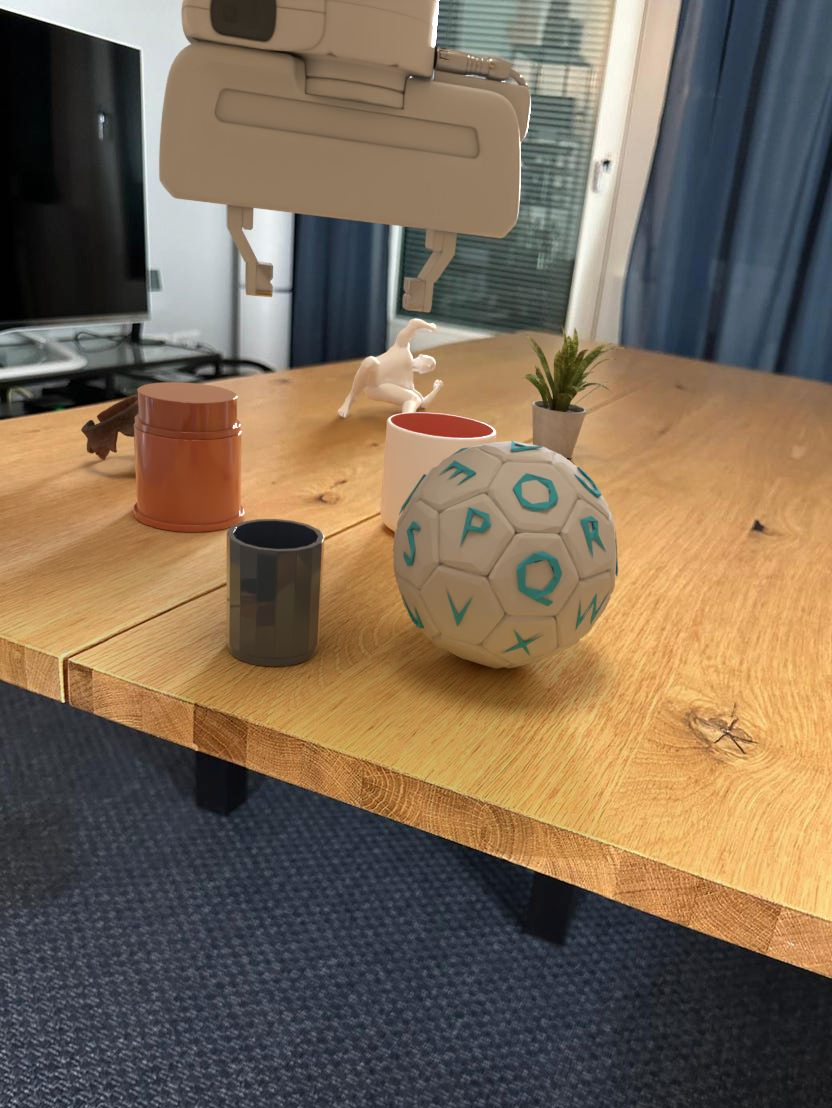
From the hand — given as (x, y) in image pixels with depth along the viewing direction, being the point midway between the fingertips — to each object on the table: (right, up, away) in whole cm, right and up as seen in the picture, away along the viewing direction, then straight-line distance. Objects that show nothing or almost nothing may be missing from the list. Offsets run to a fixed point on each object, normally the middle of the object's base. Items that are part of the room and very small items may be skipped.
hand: (339, 303), depth 55 cm
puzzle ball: (+9, -21, +10) cm, 25 cm away
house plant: (+19, +4, +66) cm, 69 cm away
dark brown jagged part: (-26, -2, +41) cm, 49 cm away
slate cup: (-5, -21, +7) cm, 22 cm away
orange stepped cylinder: (-18, -9, +29) cm, 35 cm away
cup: (+4, -10, +33) cm, 35 cm away
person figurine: (-4, +13, +79) cm, 80 cm away
